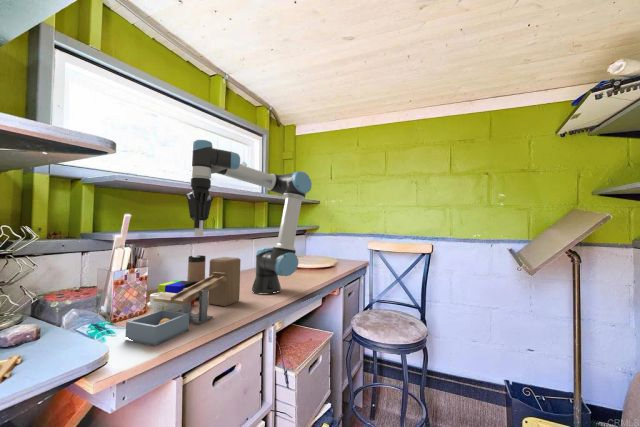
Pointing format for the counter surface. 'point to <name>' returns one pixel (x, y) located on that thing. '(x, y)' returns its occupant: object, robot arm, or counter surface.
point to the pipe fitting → (155, 303)
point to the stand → (203, 309)
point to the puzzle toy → (174, 288)
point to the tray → (157, 327)
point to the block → (229, 288)
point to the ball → (164, 320)
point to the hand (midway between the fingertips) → (198, 236)
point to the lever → (192, 290)
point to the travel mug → (196, 269)
